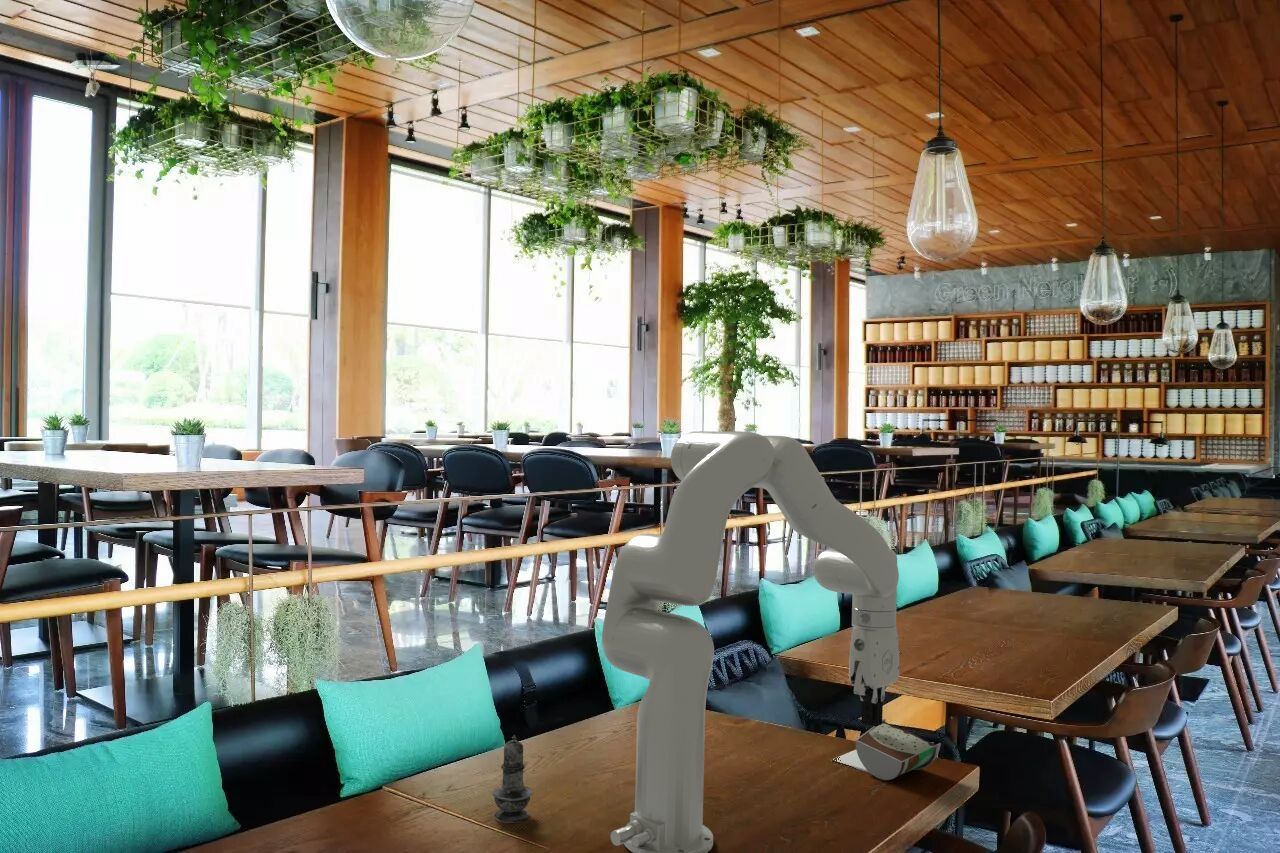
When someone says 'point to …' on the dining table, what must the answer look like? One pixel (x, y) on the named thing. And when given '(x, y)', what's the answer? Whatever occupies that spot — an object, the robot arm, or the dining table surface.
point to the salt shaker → (512, 786)
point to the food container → (894, 751)
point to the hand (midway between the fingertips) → (871, 723)
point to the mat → (852, 760)
